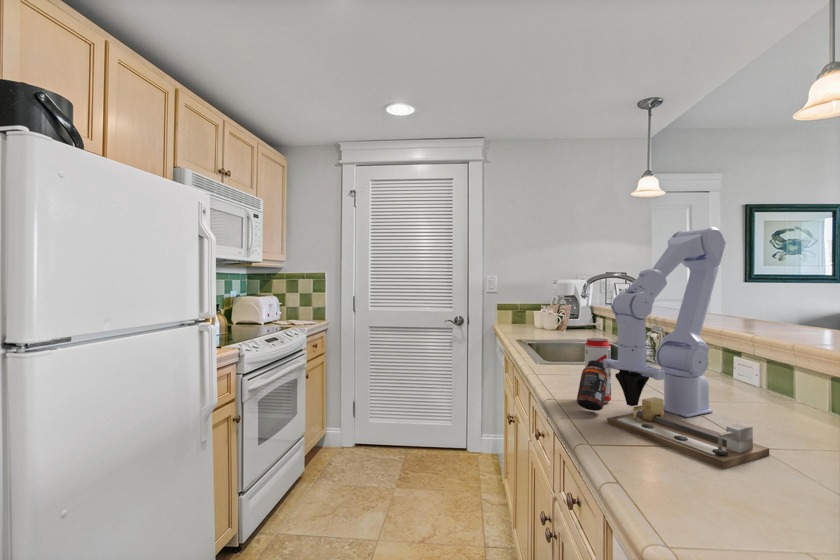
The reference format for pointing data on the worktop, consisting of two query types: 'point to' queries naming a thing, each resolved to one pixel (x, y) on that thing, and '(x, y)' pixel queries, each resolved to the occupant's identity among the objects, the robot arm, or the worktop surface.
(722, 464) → the board
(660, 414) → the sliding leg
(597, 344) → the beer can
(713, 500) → the worktop surface
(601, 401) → the supplement bottle
